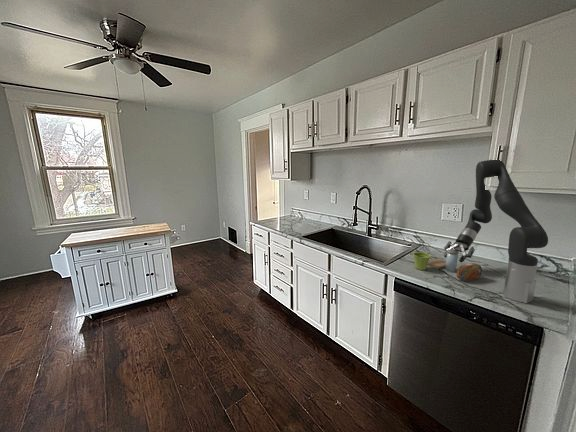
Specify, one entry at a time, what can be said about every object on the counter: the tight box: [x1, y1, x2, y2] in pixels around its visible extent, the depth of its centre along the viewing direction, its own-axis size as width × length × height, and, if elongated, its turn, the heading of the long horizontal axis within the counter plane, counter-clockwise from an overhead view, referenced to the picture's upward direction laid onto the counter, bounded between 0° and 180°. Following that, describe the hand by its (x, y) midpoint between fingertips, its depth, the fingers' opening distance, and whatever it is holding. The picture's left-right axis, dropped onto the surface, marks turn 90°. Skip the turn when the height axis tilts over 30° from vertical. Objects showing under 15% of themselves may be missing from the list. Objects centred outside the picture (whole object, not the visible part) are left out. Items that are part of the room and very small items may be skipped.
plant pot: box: [412, 251, 432, 271], centre depth 144 cm, size 9×9×9 cm
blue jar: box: [444, 249, 460, 273], centre depth 140 cm, size 6×6×12 cm
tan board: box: [427, 258, 446, 270], centre depth 149 cm, size 10×12×1 cm
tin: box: [456, 262, 483, 282], centre depth 129 cm, size 15×3×8 cm, turn 105°
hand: (452, 259), depth 140 cm, fingers open, 8 cm apart
